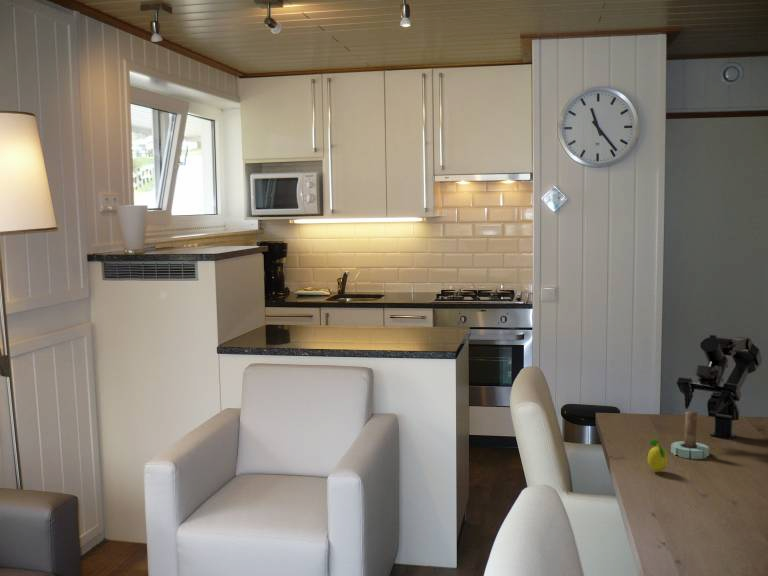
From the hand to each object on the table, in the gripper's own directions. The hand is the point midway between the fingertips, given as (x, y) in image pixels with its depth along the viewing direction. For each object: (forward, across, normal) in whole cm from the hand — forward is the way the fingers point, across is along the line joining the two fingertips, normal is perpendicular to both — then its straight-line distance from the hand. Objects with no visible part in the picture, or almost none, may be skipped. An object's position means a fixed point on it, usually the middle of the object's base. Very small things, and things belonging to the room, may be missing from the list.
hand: (700, 410), depth 260 cm
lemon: (+31, 0, -14) cm, 34 cm away
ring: (+14, 0, +3) cm, 14 cm away
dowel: (+14, 0, +3) cm, 14 cm away
